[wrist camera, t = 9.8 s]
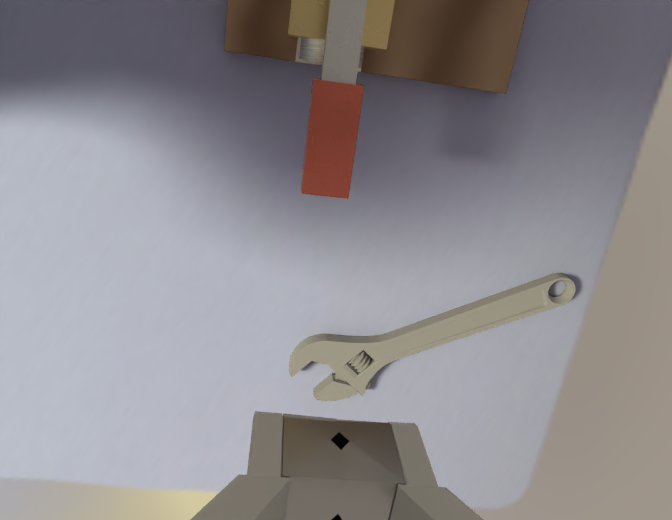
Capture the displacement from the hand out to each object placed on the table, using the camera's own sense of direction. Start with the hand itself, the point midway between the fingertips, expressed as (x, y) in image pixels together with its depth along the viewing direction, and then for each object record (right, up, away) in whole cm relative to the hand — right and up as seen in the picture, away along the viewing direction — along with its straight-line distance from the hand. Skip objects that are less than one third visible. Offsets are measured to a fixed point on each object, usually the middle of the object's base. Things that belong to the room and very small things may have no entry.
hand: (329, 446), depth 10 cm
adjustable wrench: (+8, -3, +38) cm, 39 cm away
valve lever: (0, +14, +19) cm, 23 cm away
